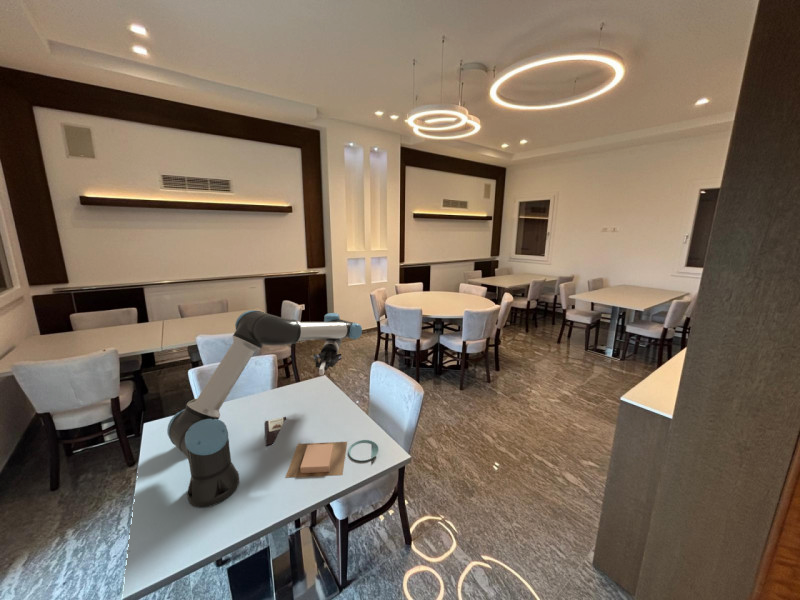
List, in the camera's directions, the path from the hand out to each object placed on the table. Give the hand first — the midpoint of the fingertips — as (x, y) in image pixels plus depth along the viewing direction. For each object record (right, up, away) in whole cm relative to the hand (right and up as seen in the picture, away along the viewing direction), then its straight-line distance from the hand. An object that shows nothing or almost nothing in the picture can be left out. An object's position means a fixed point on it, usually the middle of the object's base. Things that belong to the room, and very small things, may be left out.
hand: (321, 372), depth 127 cm
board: (+1, -32, -8) cm, 33 cm away
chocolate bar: (-22, -29, +10) cm, 38 cm away
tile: (+1, -29, -4) cm, 29 cm away
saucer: (+18, -32, -4) cm, 37 cm away
